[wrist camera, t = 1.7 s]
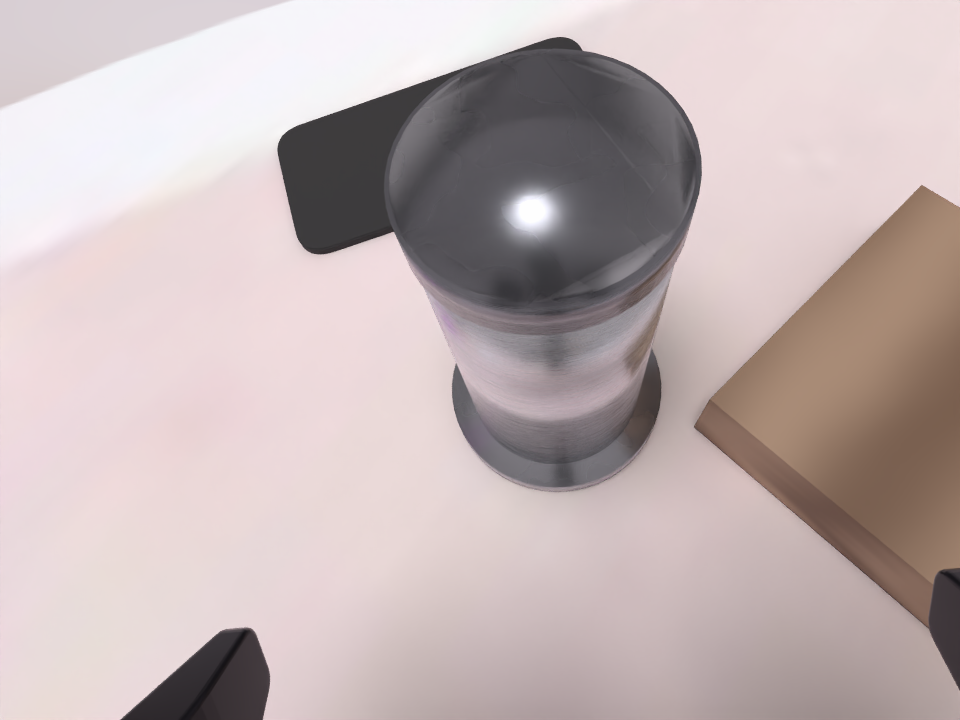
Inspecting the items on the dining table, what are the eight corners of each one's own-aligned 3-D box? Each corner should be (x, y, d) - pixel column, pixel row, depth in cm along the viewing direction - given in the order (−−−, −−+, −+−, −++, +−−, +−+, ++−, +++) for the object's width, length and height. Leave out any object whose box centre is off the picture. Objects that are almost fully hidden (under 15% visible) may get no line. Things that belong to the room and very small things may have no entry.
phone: (272, 132, 31) (571, 28, 31) (279, 144, 32) (571, 43, 32) (301, 258, 28) (632, 144, 28) (308, 267, 29) (630, 156, 29)
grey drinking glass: (702, 389, 24) (828, 150, 12) (555, 537, 23) (536, 430, 11) (554, 267, 27) (538, -26, 15) (415, 392, 26) (278, 180, 14)
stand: (1186, 426, 21) (1276, 395, 19) (986, 677, 20) (1054, 685, 17) (884, 233, 26) (921, 185, 23) (693, 426, 24) (709, 399, 21)
